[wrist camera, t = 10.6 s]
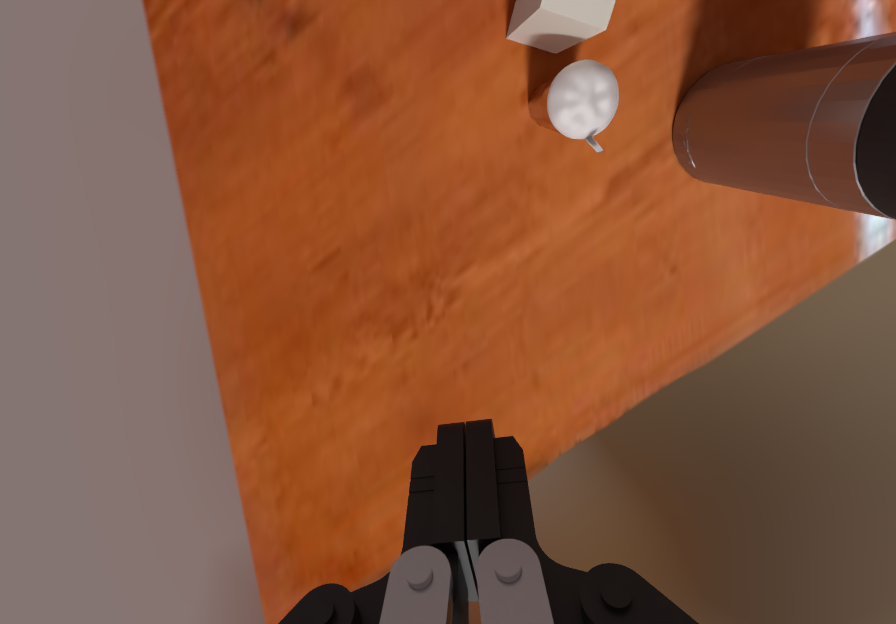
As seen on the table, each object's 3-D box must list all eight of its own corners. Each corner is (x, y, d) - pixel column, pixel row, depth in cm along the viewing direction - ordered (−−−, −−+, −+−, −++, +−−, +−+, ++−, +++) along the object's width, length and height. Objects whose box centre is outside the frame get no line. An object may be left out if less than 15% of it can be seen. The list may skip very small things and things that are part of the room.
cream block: (573, -6, 35) (633, -54, 25) (555, 54, 36) (606, 29, 27) (522, -24, 34) (563, -79, 25) (505, 38, 35) (539, 7, 26)
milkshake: (527, 152, 38) (564, 161, 29) (515, 81, 36) (550, 67, 27) (582, 138, 38) (636, 142, 29) (572, 66, 36) (628, 46, 27)
